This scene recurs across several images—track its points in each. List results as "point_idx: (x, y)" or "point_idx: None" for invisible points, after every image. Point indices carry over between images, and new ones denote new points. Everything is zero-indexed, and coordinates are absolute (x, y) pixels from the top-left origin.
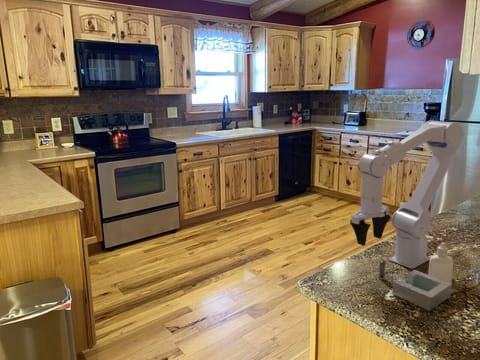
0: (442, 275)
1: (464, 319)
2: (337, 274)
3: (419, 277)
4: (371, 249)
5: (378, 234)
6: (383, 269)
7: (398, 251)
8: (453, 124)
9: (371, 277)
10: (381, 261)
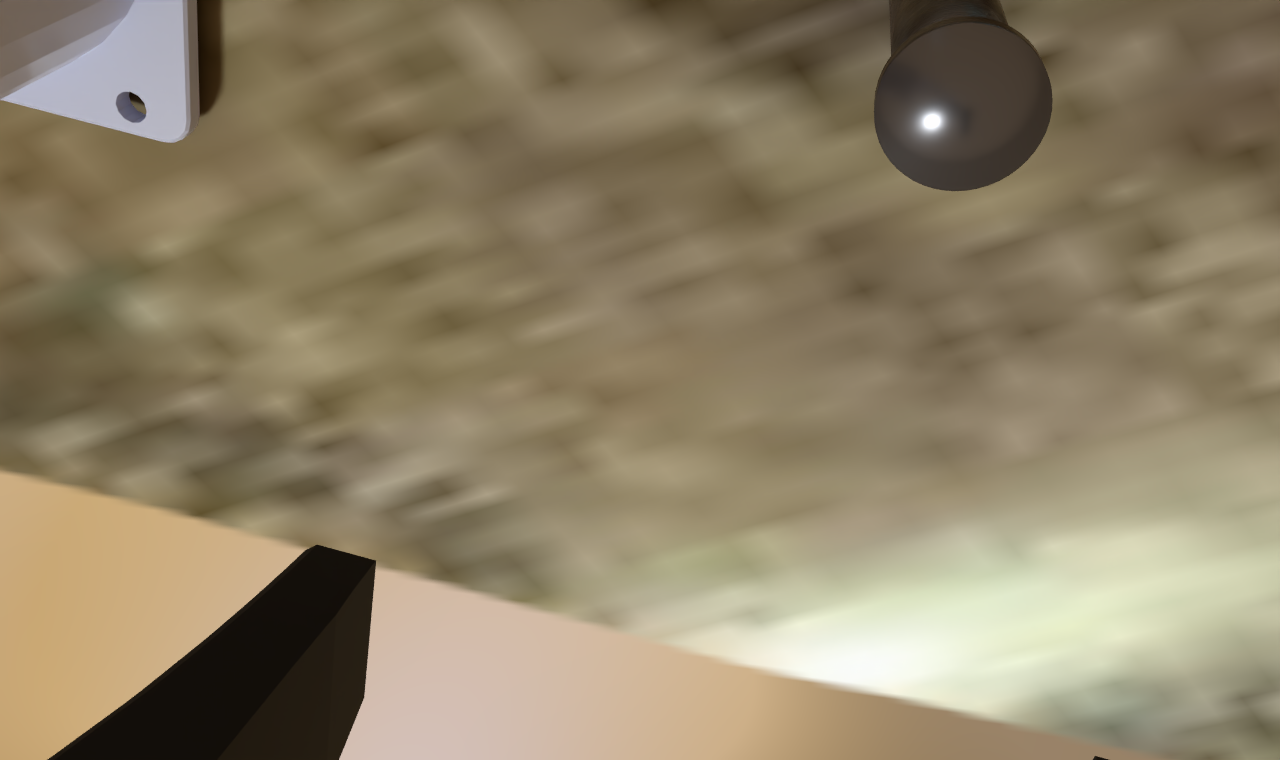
0: None
1: None
2: (1181, 596)
3: None
4: (78, 464)
5: (320, 691)
6: (990, 6)
7: (13, 26)
8: None
9: None
10: (970, 133)
